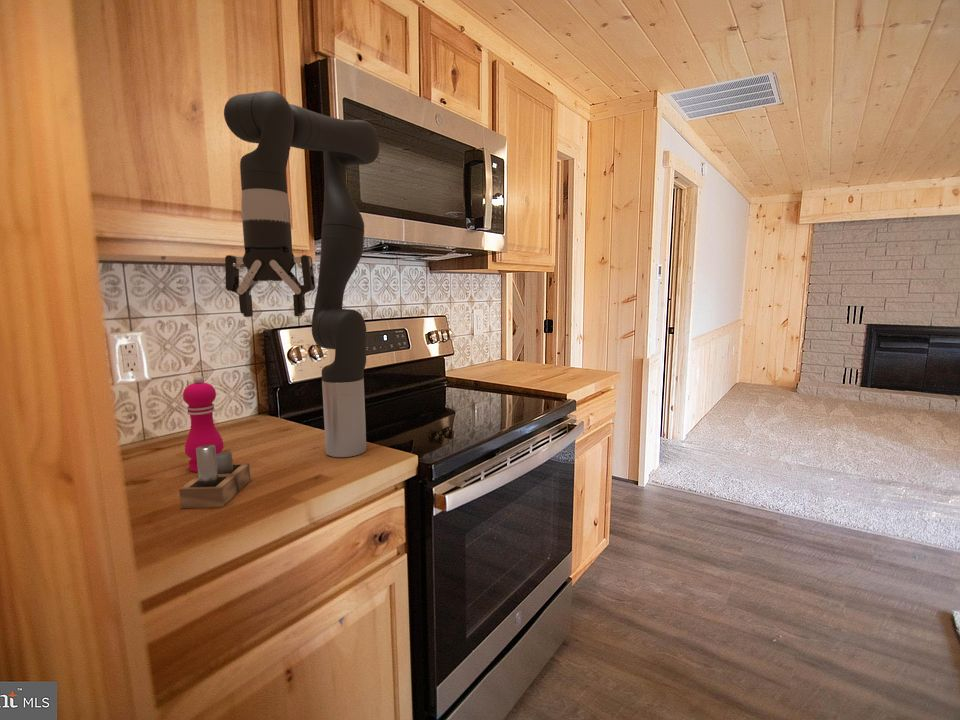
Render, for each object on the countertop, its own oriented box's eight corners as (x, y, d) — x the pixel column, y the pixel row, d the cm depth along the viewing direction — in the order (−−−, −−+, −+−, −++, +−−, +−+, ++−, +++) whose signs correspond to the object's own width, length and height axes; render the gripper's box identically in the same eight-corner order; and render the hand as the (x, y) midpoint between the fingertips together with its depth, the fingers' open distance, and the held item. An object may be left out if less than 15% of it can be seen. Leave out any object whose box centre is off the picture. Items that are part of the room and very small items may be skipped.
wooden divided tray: (214, 480, 95) (211, 449, 94) (250, 479, 96) (248, 448, 95) (181, 508, 84) (177, 472, 83) (222, 507, 84) (219, 471, 83)
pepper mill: (216, 458, 108) (209, 371, 105) (231, 465, 104) (223, 374, 101) (181, 467, 103) (172, 375, 100) (194, 476, 98) (185, 380, 95)
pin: (206, 497, 88) (201, 444, 87) (222, 496, 88) (218, 444, 87) (197, 504, 85) (192, 450, 84) (215, 503, 85) (210, 450, 84)
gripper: (315, 223, 85) (320, 315, 88) (233, 223, 84) (240, 315, 87) (302, 217, 78) (308, 317, 80) (212, 217, 77) (221, 318, 79)
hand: (273, 316), depth 84 cm, fingers open, 8 cm apart
